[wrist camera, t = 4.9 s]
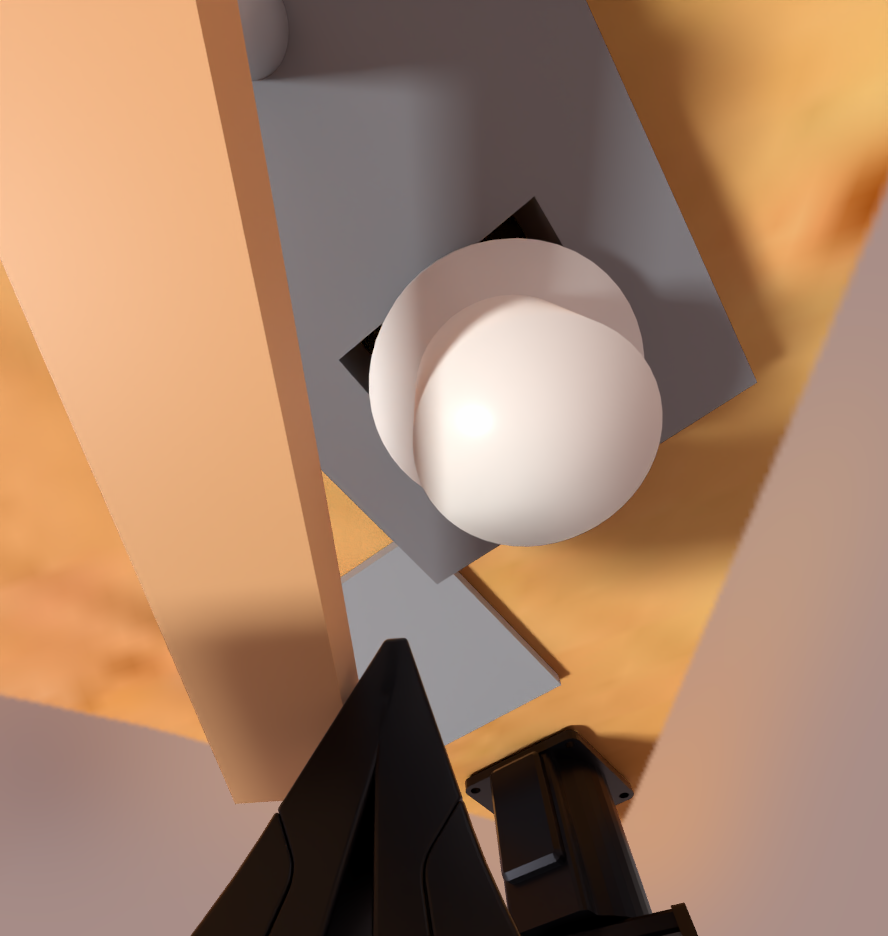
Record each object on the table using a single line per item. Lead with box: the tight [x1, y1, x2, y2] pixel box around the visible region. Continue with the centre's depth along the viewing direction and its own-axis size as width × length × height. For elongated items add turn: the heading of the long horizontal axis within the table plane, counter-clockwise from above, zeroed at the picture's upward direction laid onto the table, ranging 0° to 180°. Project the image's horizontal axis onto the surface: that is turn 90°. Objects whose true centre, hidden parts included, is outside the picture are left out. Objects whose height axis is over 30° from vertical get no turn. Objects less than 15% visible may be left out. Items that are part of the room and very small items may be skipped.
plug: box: [369, 238, 663, 546], centre depth 10 cm, size 6×6×7 cm
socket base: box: [237, 0, 757, 584], centre depth 9 cm, size 13×10×7 cm
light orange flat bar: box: [0, 0, 359, 804], centre depth 6 cm, size 14×3×1 cm, turn 2°
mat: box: [341, 542, 561, 746], centre depth 19 cm, size 10×9×1 cm
